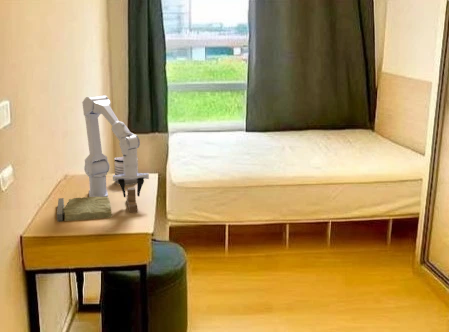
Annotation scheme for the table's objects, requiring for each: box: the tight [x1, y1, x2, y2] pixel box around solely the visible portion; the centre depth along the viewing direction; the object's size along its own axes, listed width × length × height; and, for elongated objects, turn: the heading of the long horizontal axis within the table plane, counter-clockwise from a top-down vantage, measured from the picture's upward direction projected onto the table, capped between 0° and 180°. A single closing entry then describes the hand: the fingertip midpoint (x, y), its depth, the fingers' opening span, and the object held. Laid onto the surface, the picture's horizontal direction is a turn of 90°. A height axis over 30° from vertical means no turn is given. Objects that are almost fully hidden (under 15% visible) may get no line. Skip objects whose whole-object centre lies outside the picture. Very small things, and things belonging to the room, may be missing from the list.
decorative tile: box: [63, 196, 113, 222], centre depth 226 cm, size 19×20×4 cm
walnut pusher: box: [126, 187, 138, 214], centre depth 231 cm, size 16×3×8 cm, turn 14°
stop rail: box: [56, 197, 65, 222], centre depth 223 cm, size 20×2×3 cm, turn 14°
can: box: [113, 156, 139, 186], centre depth 266 cm, size 11×11×12 cm
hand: (131, 196), depth 231 cm, fingers open, 5 cm apart
